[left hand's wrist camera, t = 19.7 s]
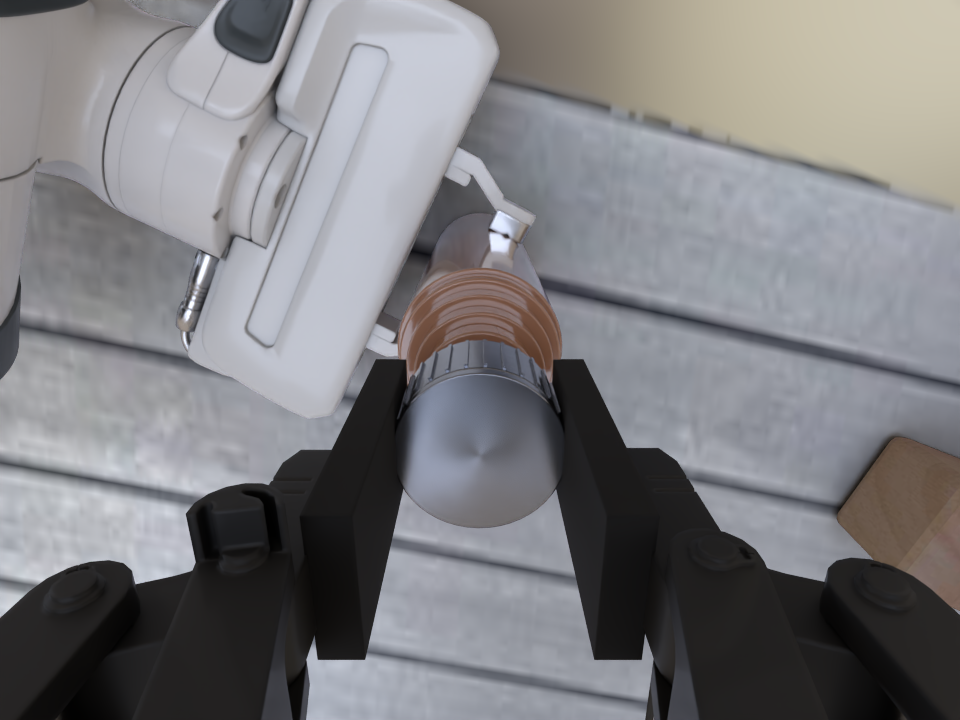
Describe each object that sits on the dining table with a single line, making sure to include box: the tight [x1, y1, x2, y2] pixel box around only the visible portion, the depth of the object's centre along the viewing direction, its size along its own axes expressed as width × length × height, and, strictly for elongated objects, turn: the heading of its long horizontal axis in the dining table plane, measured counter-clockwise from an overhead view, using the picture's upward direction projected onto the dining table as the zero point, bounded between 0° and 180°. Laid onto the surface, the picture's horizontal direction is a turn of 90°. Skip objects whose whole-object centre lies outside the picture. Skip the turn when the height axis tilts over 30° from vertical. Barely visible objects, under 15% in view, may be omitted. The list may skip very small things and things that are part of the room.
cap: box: [395, 339, 565, 528], centre depth 14 cm, size 4×4×2 cm
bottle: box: [397, 213, 562, 385], centre depth 24 cm, size 6×6×23 cm
